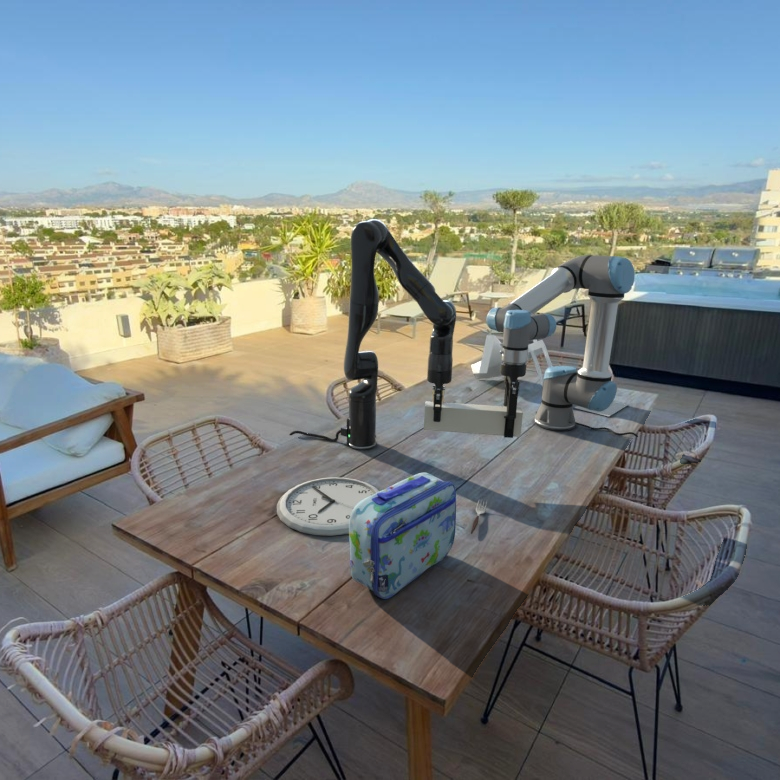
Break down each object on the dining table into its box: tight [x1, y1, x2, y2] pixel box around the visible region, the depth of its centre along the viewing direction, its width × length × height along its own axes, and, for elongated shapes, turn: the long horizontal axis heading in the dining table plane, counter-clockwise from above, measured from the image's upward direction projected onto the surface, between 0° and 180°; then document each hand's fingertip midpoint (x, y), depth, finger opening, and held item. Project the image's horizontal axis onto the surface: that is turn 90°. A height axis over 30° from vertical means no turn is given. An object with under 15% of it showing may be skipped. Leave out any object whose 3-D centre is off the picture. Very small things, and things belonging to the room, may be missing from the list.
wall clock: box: [276, 476, 381, 537], centre depth 142 cm, size 30×2×30 cm
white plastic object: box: [470, 334, 554, 388], centre depth 255 cm, size 37×45×31 cm
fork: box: [470, 498, 488, 535], centre depth 136 cm, size 3×16×2 cm, turn 160°
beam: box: [423, 400, 524, 438], centre depth 165 cm, size 30×5×8 cm, turn 83°
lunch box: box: [348, 471, 457, 600], centre depth 113 cm, size 26×11×21 cm, turn 134°
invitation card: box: [573, 400, 629, 418], centre depth 226 cm, size 21×1×15 cm
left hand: (437, 418), depth 166 cm, fingers closed on beam, 5 cm apart
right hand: (507, 433), depth 165 cm, fingers closed on beam, 5 cm apart
